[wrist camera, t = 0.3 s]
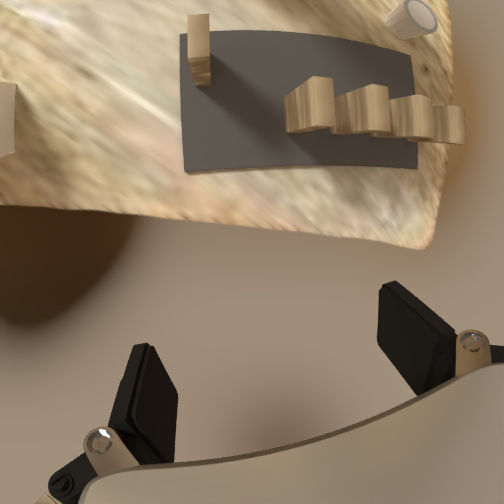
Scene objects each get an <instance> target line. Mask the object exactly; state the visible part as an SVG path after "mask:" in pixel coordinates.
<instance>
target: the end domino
mask: <svg viewBox="0 0 504 504" xmlns="http://www.w3.org/2000/svg"><path fill="white" fill-rule="evenodd" d="M188 61H189V65H190V68H191V72H192V76H193V79H194V83H195V87H197V86H209V85H211V75H210V38H209V14H199V15H188Z"/></svg>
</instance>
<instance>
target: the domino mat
mask: <svg viewBox="0 0 504 504" xmlns="http://www.w3.org/2000/svg"><path fill="white" fill-rule="evenodd" d="M209 38H210V75H211V85H209V86H197V87H195V83H194V79H193V76H192V72H191V68H190V65H189V61H188V33H186V34H180V96H181V121H182V140H183V156H184V170H185V172H191V171H202V170H214V169H227V168H242V167H262V166H294V165H344V166H375V167H394V168H409V169H417V165H418V142H412V141H405V140H404V138H379V137H370V133H357V134H345V135H341V134H331V133H330V127H328V128H323V129H317V130H312V131H307V132H302V133H285V114H284V97H285V96H286V95H288V94H289V93H290V92H292V91H293V90H294V89H296V88H297V87H299V86H300V85H301V84H303V83H304V82H306V81H307V80H308V79H310V78H311V77H313V76H318V77H328V78H333V90H334V98H335V97H338V96H340V95H343V94H346V93H348V92H351V91H354V90H356V89H359V88H362V87H365V86H367V85H370V84H375V85H381V86H386V87H388V95H389V100H391V99H396V98H401V97H406V96H412V95H415V89H414V79H413V71H412V64H411V57H410V55H407V54H403V53H400V52H397V51H393V50H390V49H386V48H382V47H378V46H374V45H370V44H365V43H361V42H356V41H351V40H346V39H340V38H334V37H328V36H321V35H313V34H305V33H294V32H281V31H258V30H233V31H210V32H209Z"/></svg>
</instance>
